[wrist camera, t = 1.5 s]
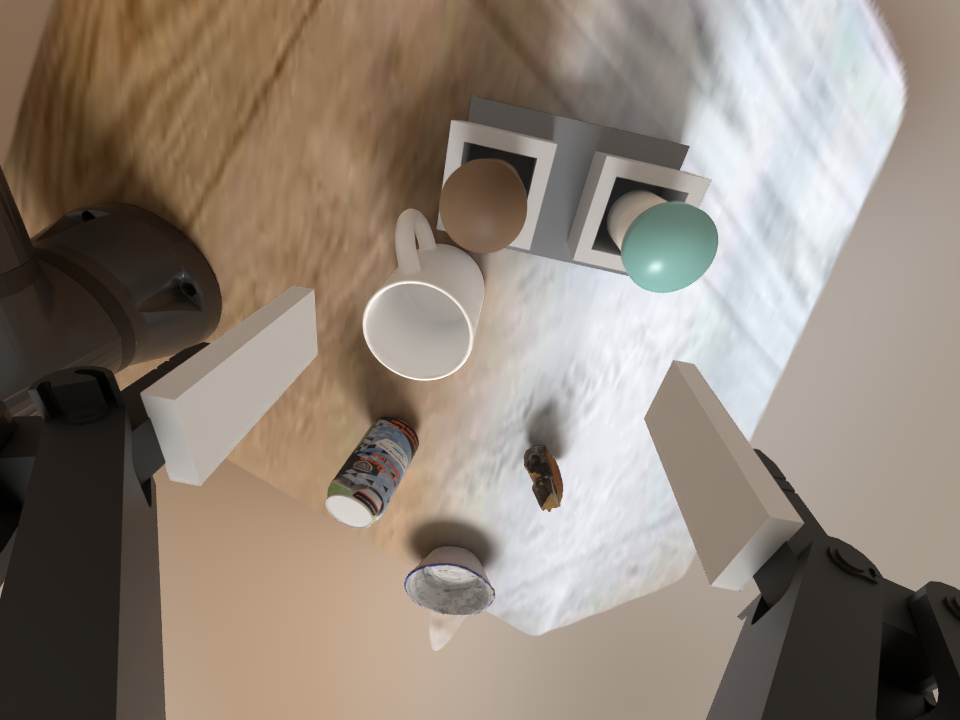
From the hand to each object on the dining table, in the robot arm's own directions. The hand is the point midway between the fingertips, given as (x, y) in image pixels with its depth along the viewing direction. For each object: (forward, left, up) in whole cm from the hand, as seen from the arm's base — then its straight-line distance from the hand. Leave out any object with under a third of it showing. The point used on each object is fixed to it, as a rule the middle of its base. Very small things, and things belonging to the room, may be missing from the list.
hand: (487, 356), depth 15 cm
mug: (-2, -7, -23) cm, 25 cm away
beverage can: (+7, -27, -23) cm, 36 cm away
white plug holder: (+1, +5, -23) cm, 23 cm away
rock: (+21, -16, -23) cm, 35 cm away
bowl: (+29, -42, -23) cm, 56 cm away
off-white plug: (+6, +7, -17) cm, 19 cm away
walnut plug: (-3, +2, -17) cm, 17 cm away
